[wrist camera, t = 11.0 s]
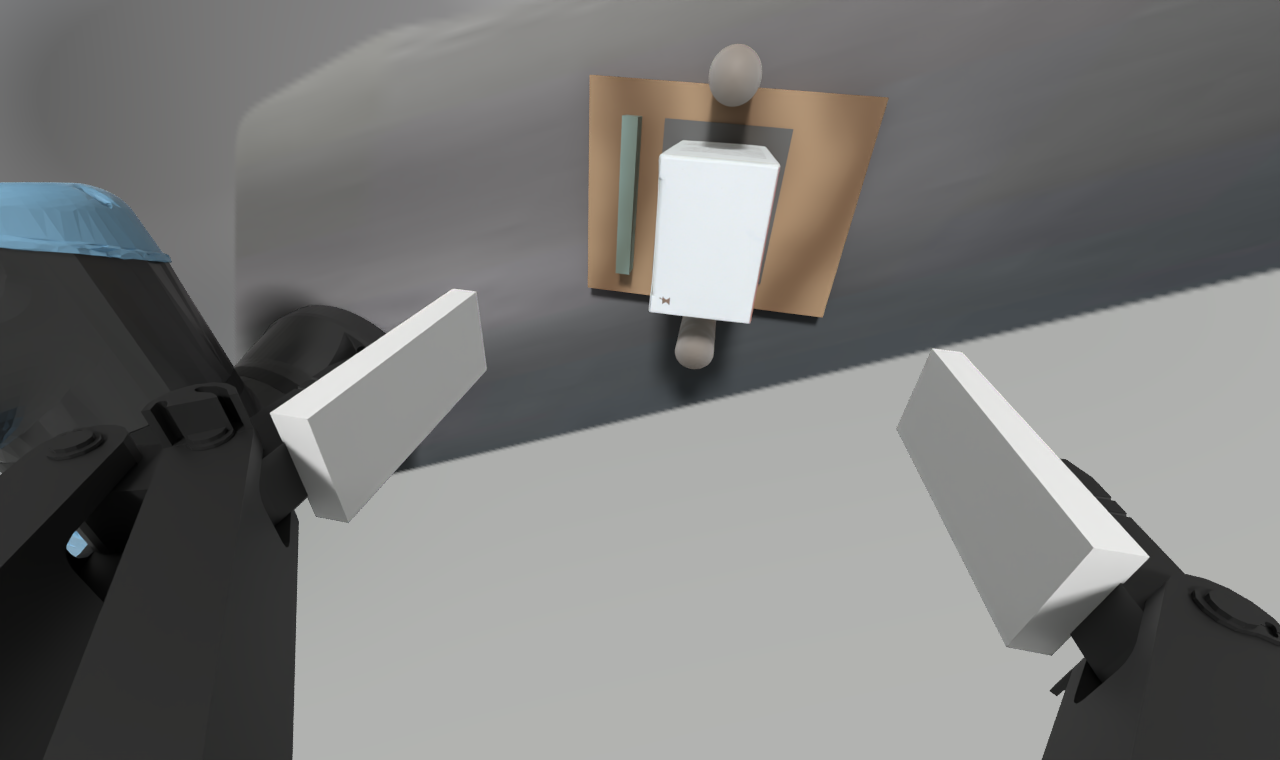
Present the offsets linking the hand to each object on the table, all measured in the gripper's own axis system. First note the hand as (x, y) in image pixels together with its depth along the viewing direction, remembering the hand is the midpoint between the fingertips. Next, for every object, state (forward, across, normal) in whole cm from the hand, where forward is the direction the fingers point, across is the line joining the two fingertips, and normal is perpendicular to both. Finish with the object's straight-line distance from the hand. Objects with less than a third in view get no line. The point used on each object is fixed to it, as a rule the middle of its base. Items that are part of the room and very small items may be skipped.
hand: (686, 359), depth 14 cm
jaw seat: (+23, 0, 0) cm, 23 cm away
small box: (+22, 0, 0) cm, 22 cm away
